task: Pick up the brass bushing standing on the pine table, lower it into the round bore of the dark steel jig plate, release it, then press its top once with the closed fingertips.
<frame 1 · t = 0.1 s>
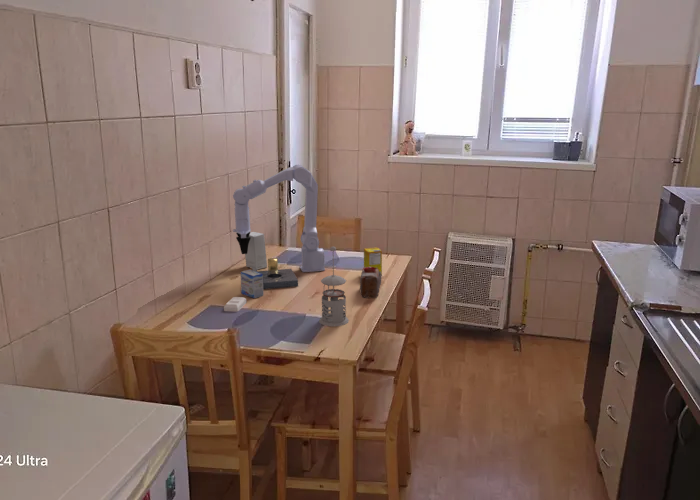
hand: (244, 251, 231), 10 cm above the table, fingers open, 7 cm apart
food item: (370, 292, 212), on the table
soap bar: (235, 308, 198), on the table
bushing: (273, 273, 236), on the table
medicine box: (252, 295, 210), on the table
skincare box: (255, 267, 244), on the table
jig: (274, 281, 224), on the table
french press: (332, 320, 185), on the table
supplement box: (372, 275, 232), on the table
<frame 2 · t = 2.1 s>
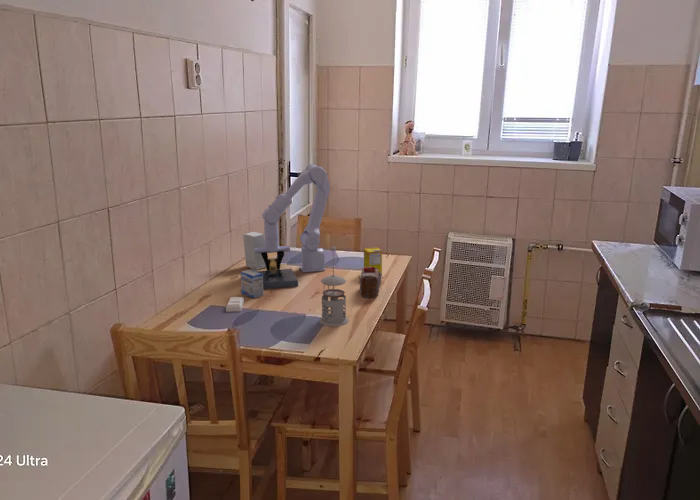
hand: (273, 269, 235), 2 cm above the table, fingers closed on bushing, 4 cm apart
bushing: (273, 273, 236), on the table, touching gripper
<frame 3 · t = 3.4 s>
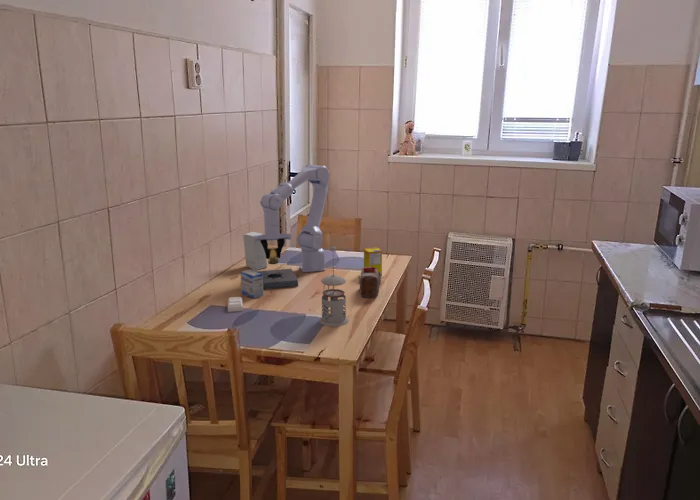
hand: (273, 257, 225), 9 cm above the table, fingers closed on bushing, 4 cm apart
bushing: (273, 262, 226), point 7 cm above the table, touching gripper
when the fingers open (3 cm above the table, at t = 5.2 s): bushing stays where it is, resting in jig.
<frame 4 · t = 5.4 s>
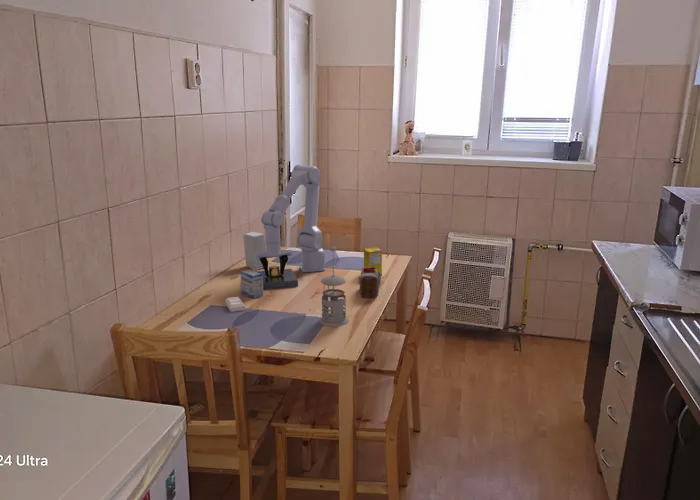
hand: (274, 274, 223), 3 cm above the table, fingers open, 5 cm apart
bushing: (274, 281, 224), resting in jig
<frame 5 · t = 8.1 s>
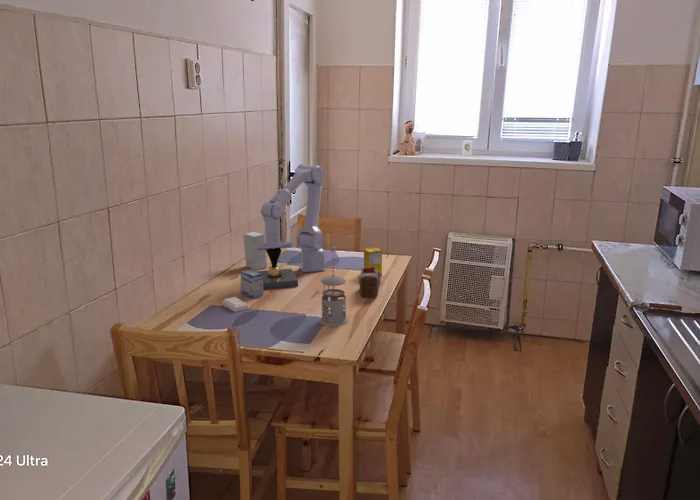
hand: (274, 266, 222), 6 cm above the table, fingers closed
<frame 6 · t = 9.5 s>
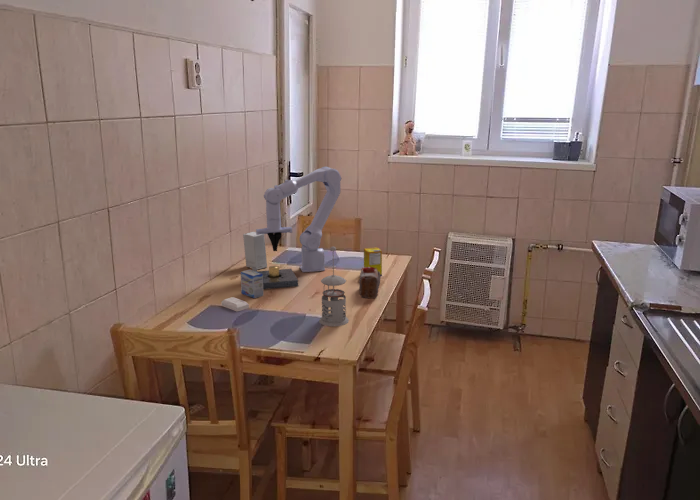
hand: (275, 250, 232), 10 cm above the table, fingers closed
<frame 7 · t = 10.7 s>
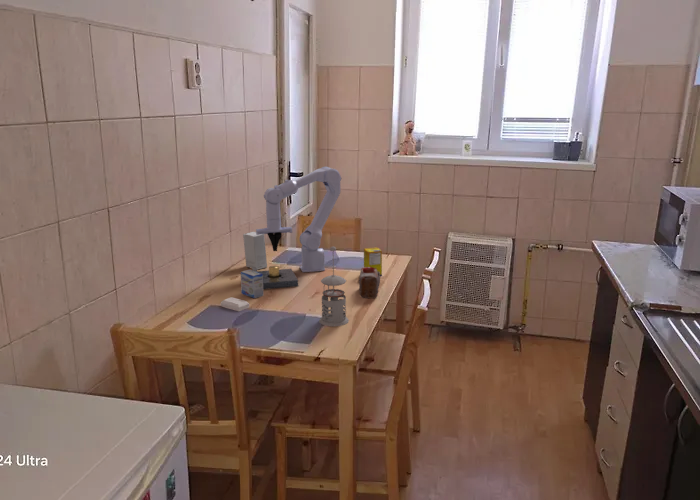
hand: (275, 250, 232), 10 cm above the table, fingers closed
at the end: bushing 0.3 cm off-centre on the jig, point 0.0 cm above the jig's base; bushing tilted 0°; the gripper is holding nothing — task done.
